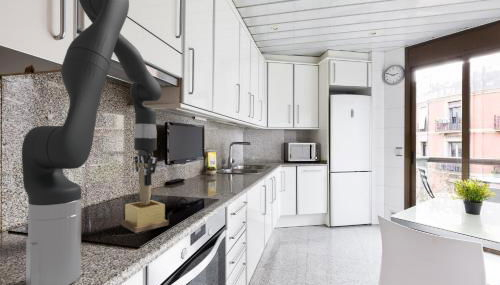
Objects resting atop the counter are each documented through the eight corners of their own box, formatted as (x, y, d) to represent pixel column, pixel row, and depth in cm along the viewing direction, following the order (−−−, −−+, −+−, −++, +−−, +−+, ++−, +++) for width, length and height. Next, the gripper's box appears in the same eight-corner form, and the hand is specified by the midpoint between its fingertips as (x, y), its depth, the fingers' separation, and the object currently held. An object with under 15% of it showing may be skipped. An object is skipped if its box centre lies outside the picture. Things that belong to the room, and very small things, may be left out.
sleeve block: (135, 232, 88) (135, 210, 88) (121, 225, 96) (121, 204, 96) (168, 224, 97) (168, 204, 97) (152, 218, 105) (153, 199, 105)
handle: (144, 207, 93) (145, 163, 93) (133, 204, 96) (133, 162, 96) (156, 204, 97) (156, 162, 97) (145, 202, 100) (145, 162, 100)
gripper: (126, 137, 99) (126, 183, 99) (144, 136, 89) (143, 188, 89) (146, 137, 104) (146, 181, 104) (165, 137, 94) (164, 185, 94)
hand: (145, 184), depth 96 cm, fingers closed on handle, 3 cm apart
